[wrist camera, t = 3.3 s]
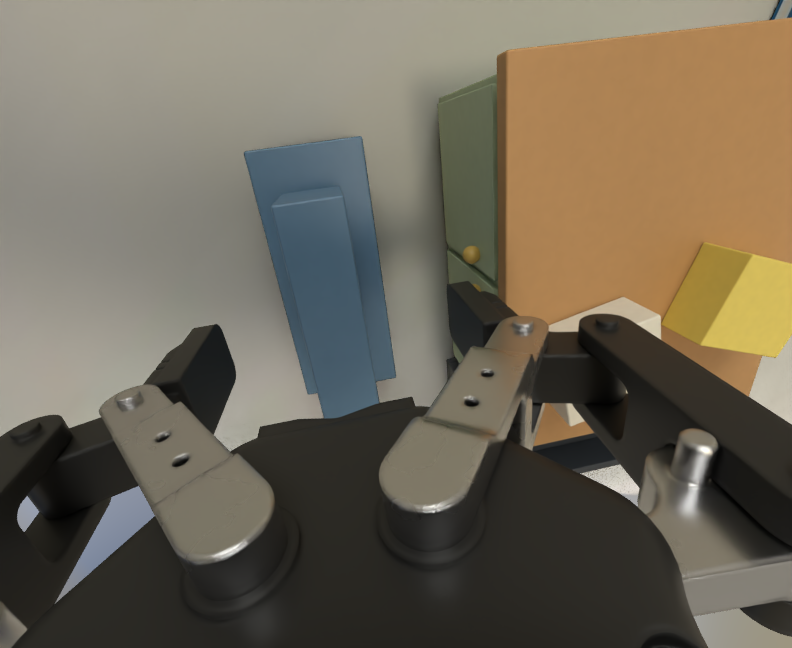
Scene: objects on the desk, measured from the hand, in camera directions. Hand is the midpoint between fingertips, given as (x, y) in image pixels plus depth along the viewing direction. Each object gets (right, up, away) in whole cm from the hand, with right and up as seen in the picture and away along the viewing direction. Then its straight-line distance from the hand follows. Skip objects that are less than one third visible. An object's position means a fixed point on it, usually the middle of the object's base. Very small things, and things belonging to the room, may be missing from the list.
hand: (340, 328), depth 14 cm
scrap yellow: (+16, +1, +3) cm, 16 cm away
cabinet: (+11, +6, +10) cm, 16 cm away
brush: (-2, +4, +9) cm, 10 cm away
